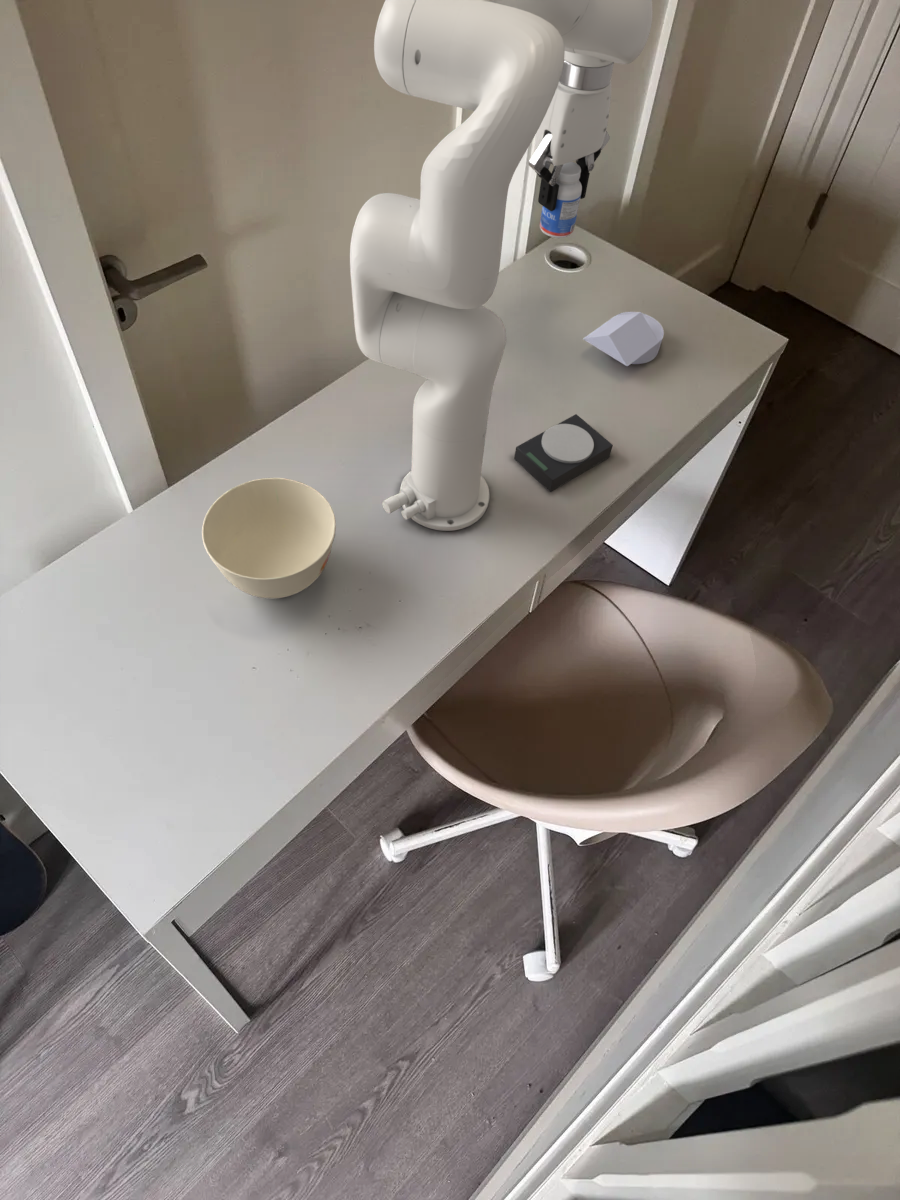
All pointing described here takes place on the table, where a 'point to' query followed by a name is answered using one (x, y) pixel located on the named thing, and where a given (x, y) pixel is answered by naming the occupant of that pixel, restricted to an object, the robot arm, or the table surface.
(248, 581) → the bowl
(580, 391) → the table surface
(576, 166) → the pill bottle
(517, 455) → the scale
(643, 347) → the wedge on round base
